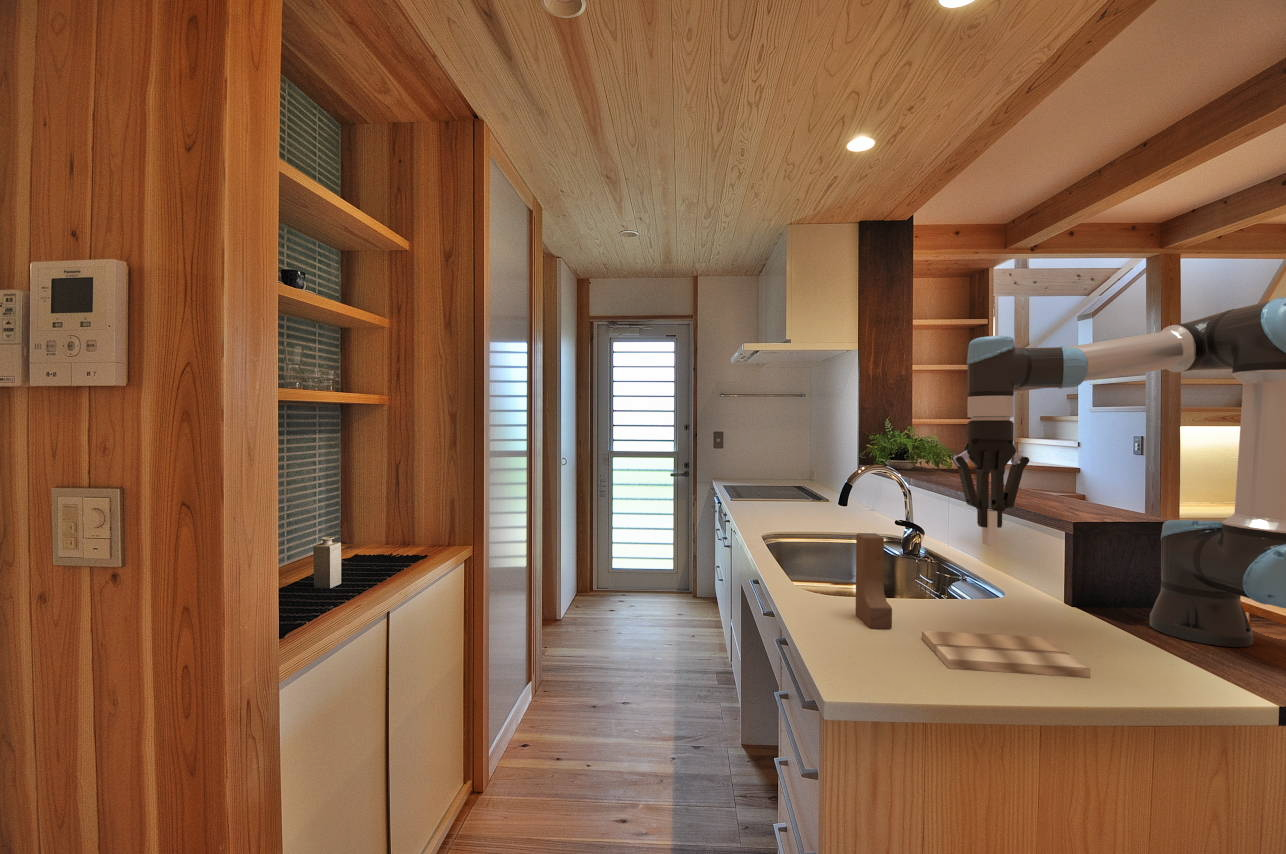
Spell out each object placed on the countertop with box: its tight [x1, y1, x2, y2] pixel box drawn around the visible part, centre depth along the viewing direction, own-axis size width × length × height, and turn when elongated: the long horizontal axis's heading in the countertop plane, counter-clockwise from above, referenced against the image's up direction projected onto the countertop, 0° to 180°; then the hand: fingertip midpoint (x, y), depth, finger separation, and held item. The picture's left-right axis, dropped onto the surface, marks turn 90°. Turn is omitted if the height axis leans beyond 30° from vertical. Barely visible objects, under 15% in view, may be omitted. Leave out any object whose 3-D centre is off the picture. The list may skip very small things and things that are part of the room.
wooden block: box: [855, 532, 893, 630], centre depth 123 cm, size 9×4×18 cm, turn 179°
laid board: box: [934, 645, 1091, 679], centre depth 101 cm, size 22×6×2 cm, turn 82°
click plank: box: [921, 630, 1067, 653], centre depth 108 cm, size 22×7×2 cm, turn 82°
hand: (989, 544), depth 109 cm, fingers closed
